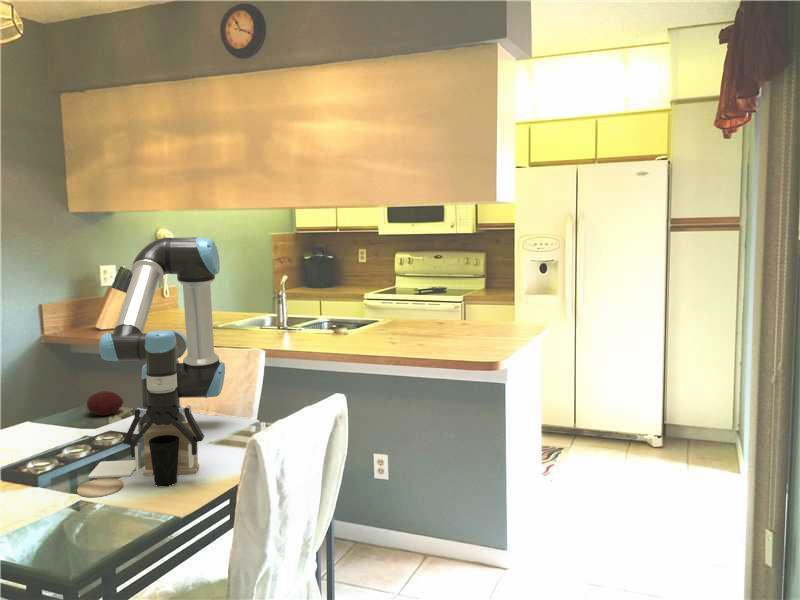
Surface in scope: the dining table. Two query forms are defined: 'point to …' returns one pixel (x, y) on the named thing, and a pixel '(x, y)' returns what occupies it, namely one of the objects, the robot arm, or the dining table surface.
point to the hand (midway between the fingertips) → (165, 467)
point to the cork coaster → (100, 487)
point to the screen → (183, 448)
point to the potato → (104, 403)
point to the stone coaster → (113, 469)
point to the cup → (164, 459)
